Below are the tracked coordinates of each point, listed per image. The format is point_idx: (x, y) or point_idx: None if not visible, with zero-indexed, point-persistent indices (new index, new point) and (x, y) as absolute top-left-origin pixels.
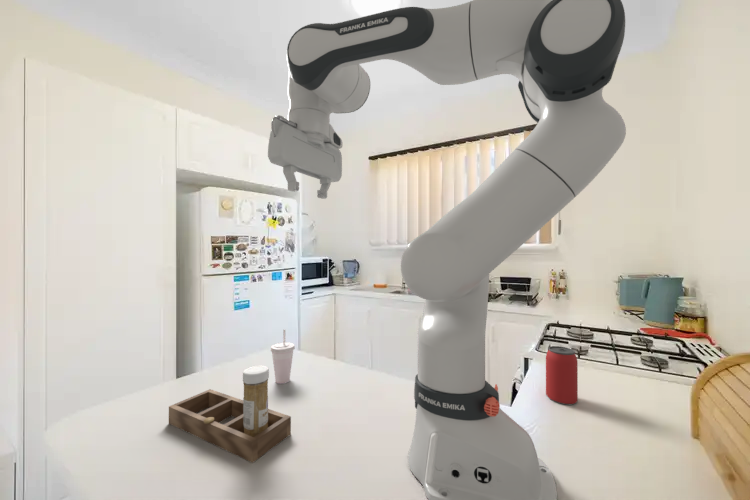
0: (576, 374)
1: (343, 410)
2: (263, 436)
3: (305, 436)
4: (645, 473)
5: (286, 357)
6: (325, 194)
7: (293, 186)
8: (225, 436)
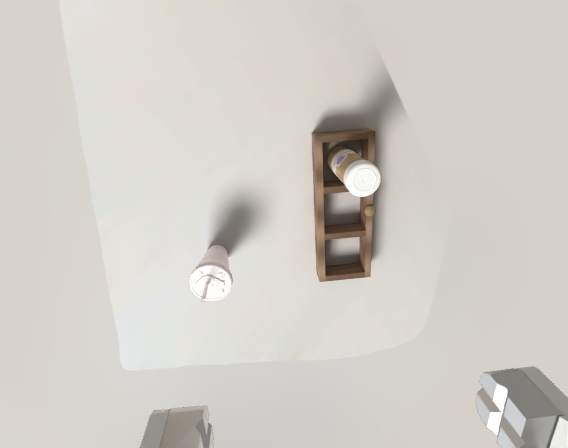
0: None
1: (229, 112)
2: (359, 132)
3: (305, 114)
4: None
5: (217, 260)
6: (173, 424)
7: (546, 382)
8: None
